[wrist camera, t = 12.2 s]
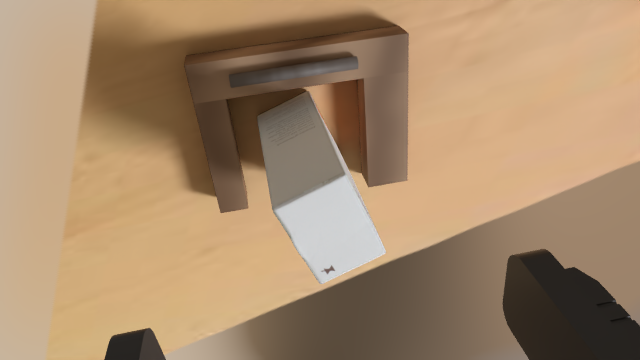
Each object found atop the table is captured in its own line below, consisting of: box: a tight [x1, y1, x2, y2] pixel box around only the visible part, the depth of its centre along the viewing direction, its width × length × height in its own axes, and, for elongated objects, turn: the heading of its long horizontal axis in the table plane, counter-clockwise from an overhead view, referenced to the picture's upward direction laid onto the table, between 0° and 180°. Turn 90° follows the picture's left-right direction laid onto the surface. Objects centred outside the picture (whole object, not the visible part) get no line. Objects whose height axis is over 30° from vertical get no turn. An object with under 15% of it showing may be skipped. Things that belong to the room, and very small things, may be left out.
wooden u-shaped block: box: [184, 26, 409, 213], centre depth 33 cm, size 14×11×3 cm
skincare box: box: [257, 91, 386, 284], centre depth 30 cm, size 6×4×12 cm
